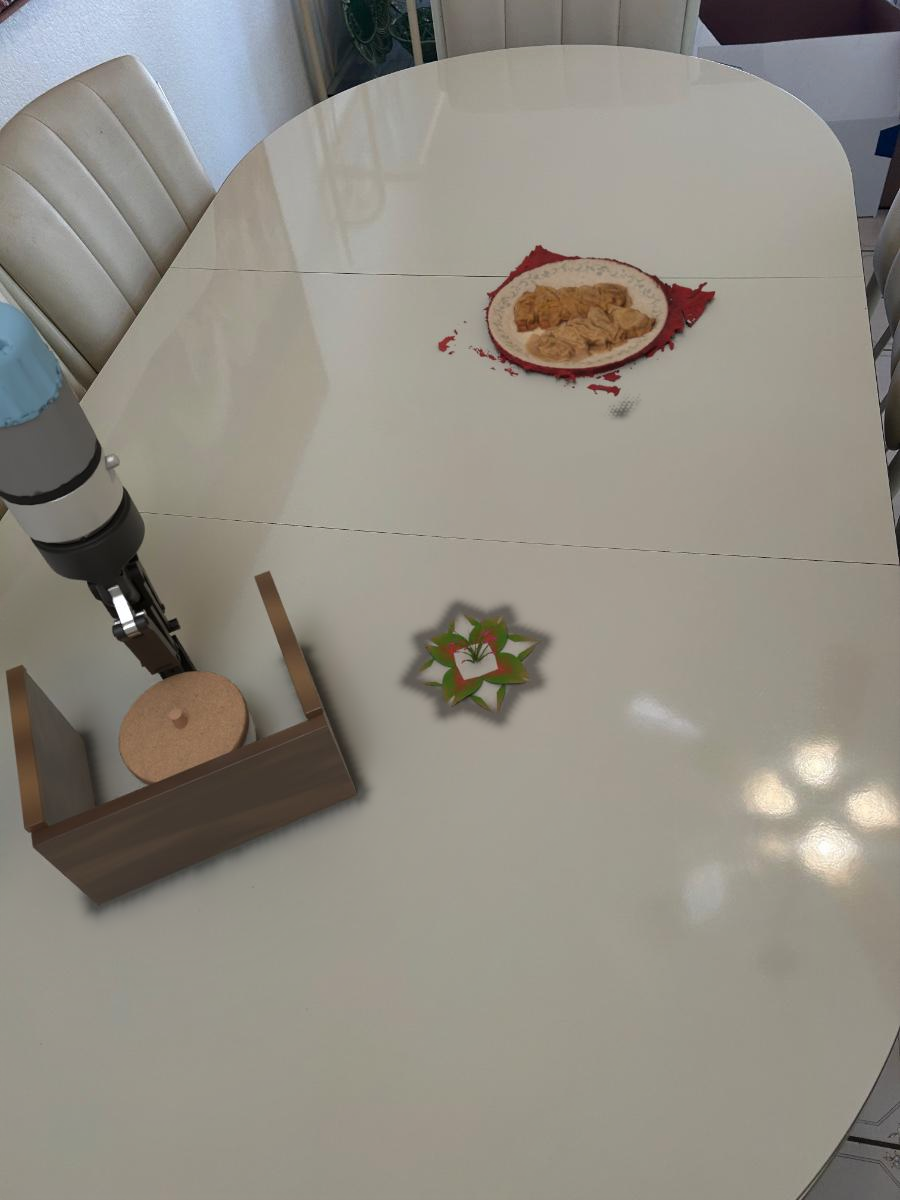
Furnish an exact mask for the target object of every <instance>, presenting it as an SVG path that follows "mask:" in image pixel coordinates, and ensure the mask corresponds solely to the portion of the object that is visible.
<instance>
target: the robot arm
mask: <svg viewBox="0 0 900 1200" xmlns="http://www.w3.org/2000/svg"><path fill="white" fill-rule="evenodd" d="M120 464H121V460H120V458H119V456H118V455H117V454H115V453H114V452H113V453H110V454H107V455H106V453H105V450H104V448H103V447H102V445H101V443H100V441H99V439H98V437H97V435H96V433H95V430H94V428H93V427H92V424H91V423H90V421H89V419H88V417H87V415H86V414H85V412H84V409H83V408H82V406H81V404H80V402H79V400H78V398H77V397H76V395H75V392H74V391H73V388H72V387H71V385H70V383H69V382H68V380H67V378H66V376H65V374H64V372H63V370H62V367H61V363H60V362H59V360H58V358H57V357H56V355H55V353H54V352H53V350H50V348H49V346H48V344H47V343H46V342H45V341H44V340H43V339H42V337H41V335H40V334H39V332H38V330H37V329H36V327H35V325H34V324H33V322H32V321H31V319H30V318H29V317H28V316H27V314H26V313H24V312H23V311H22V310H21V309H19V308H18V307H16V306H14V305H12V304H10V303H8V302H3V301H0V499H1V500H2V502H3V503H4V505H5V506H6V508H7V509H8V510H9V512H10V514H11V515H12V516H13V517H14V519H15V521H16V522H17V523H18V525H19V527H20V528H21V529H22V531H23V532H24V533H25V535H27V537H29V539H30V541H31V543H32V544H33V545H34V546H35V548H36V549H37V551H38V552H39V554H40V555H41V556H42V558H43V559H44V560H45V562H46V564H47V565H48V566H49V567H50V569H51V571H53V572H55V574H57V575H58V576H61V577H62V578H65V579H69V580H74V581H82V582H86V583H87V587H88V589H89V591H90V592H91V594H92V595H93V597H94V598H95V599H96V600H97V601H100V603H102V605H103V606H104V607H105V609H106V611H107V612H108V614H109V615H110V616H111V618H112V619H113V621H112V622H113V625H111V632H112V636H113V637H114V638H115V639H116V640H117V641H118V642H120V643H123V644H124V645H125V646H126V647H127V648H128V649H129V650H130V652H131V653H132V654H133V656H134V657H136V659H137V660H138V661H139V662H140V666H141V667H142V668H145V669H146V670H147V671H148V672H149V673H150V675H151V676H154V675H156V674H159V676H160V678H161V680H164V679H166V678H168V677H171V676H174V675H177V674H181V673H184V672H193V671H198V669H197V668H196V666H195V665H194V663H193V662H192V660H191V658H190V656H189V654H188V653H187V651H186V650H185V647H184V646H183V644H182V643H181V641H180V639H179V638H178V636H177V635H176V634H172V635H171V633H174V632H176V631H179V630H181V625H180V622H179V620H178V617H175V618H172V619H169V620H168V619H167V617H166V616H167V615H165V614H166V605H165V604H164V603H163V602H162V600H161V598H160V597H159V595H158V592H157V591H156V589H155V587H154V585H153V584H152V582H151V580H150V577H149V576H148V574H147V572H146V569H145V567H144V566H143V564H142V562H141V561H140V558H139V554H138V551H139V550H140V548H141V546H142V544H143V543H144V539H145V534H146V525H145V521H144V518H143V517H142V515H141V513H140V511H139V510H138V507H137V506H136V504H135V502H134V500H133V498H132V497H131V495H130V493H129V492H128V489H126V487H125V486H124V485H123V482H122V480H121V479H120V477H119V475H118V473H117V472H116V470H115V468H117V467H118V466H120Z"/></svg>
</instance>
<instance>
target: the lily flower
mask: <svg viewBox="0 0 900 1200" xmlns="http://www.w3.org/2000/svg"><path fill="white" fill-rule="evenodd" d="M463 616H464V617H465V618H464V620H465V623H466V624H468V623H467V621H468V622H469V623H470V625H471V626H473V628H472V629H471V631H469V629H468V628H467V633H468V635H469V636H468V639H467V638H466V637H465V636H463V635H461V634H459V633H458V632H457V631H456V625H455V624H456V623H455V622H456V621H455V620H456V619H455V618H456V617H455V615H454V617H453V619H452V621H450V624H449V626H448V630H447V632H445V633H441V634H438V635H434V636H433V637H431V638H430V639H429V641H430V642H431V643H433V644H434V645H432V644H431V645H430V644H424V646H425V647H426V648H427V651H428V652H429V654H430V655H431V656H432V657H433V658H431V659H429V660H428V661H426V662H425V663H424V664H423V665H422V667H421V668H420V669H419V670H418V672H417V674H419V673H421V672H423V671H425V670H427V669H428V668H431V667H432V665H433V663H434V662H435V660H436V661H437V662H438V663H440V664H442V665H443V666H446V667H448V668H449V667H450V668H449V669H448V670H447V671H445V673H444V675H443V677H442V680H441V681H442V682H441V683H440V682H438V681H426V682H423V684H425V685H428V686H434V687H435V686H436V687H442V688H441V689H442V695H443V701H444V702H445V703H446V704H447V703H448V702H450V701H451V699H452V698H453V699H452V703H451V705H450V708H452V707H453V706H455V705H457V703H458V702H461V701H462V700H464V699H465V698H467V697H468V696H469V697H470V699H471V700H472V701H473V702H475V703H476V704H478V705H479V706H480V707H483V708H484V709H486V710H487V711H491V712H492V713H494V712H493V710H492V709H491V707H489V705H488V704H487V703H486V702H485V700H483V698H482V697H481V696H477V695H474V694H473V693H475V692H476V691H477V690H478V689H479V688H480V687H481V686H482V684H483V682H484V680H485V682H489V683H493V684H500V686H499V688H498V689H497V691H496V716H498V715H499V710H500V708H501V703H502V702H503V700H504V696H505V693H506V685H507V684H523V683H530V682H528V681H527V680H531V676H530V675H529V673H528V672H527V671H526V667H525V666H524V664H523V662H522V661H523V660H524V659H525V658H526V657H527V656H528V655H529V654H530V653H531V652H532V651H533V650H534V648H535V646H536V645H538V644H539V643H540V642H542V640H541V639H535V638H532V637H528V638H527V636H524V635H521V634H508V629H507V623H506V621H505V620H504V618H505V617H504V616H503V617H502V619H501V620H500V618H501V616H499V615H498V616H494V617H492V618H486V619H485V618H484V617H483V618H482V620H481V621H480V622H479V621H478V620H476V619H475V618H473V616H472V617H471V616H469V615H467V614H463ZM499 620H500V621H499ZM507 639H508V640H509V641H511V642H514V643H523V642H524V643H525V642H535V643H534V644H532V645H530V646H529V647H527V648H526V649H524V650H523V651H521V652H519V653H517V656H516V655H514V654H512V653H510V652H505V651H504V652H503V651H501V650H502V649H503V648H504V646H505V644H506V642H507ZM486 644H487V645H486ZM483 645H486V646H485V647H484V649H483V650H482V648H483ZM488 647H489V648H490V652H487V653H485V652H486V650H487V648H488ZM460 650H463V651H460ZM466 650H467V651H468V652H466ZM481 650H482V652H481ZM480 652H481V653H480ZM458 653H463V654H465V655H467V656H469V657H470V658H471V659H463V660H462V661H461V662H460V664H464V663H465V662H470V663H472V664H475V663H476V664H480V665H481V664H482V663H481V661H482V660H484V658H485V657H487V656H488V655H490V654H492V655H493V656H494V658H495V663H496V667H497V669H494V670H491V671H488V672H487V673H484V674H481V675H479V676H474V677H470V678H466V679H464V677H463V674H462V673H461V671H460V669H459V667H458V666H457V663H456V658H455V654H458Z"/></svg>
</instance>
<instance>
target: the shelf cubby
mask: <svg viewBox="0 0 900 1200" xmlns="http://www.w3.org/2000/svg"><path fill="white" fill-rule="evenodd" d="M254 580H255V584H256V587H257V588H258V592H259V594H260V597H261V600H262V602H263V605H264V608H265V610H266V613H267V616H268V619H269V621H270V624H271V627H272V629H273V632H274V635H275V638H276V641H277V643H278V646H279V649H280V651H281V654H282V656H283V660H284V663H285V665H286V667H287V670H288V673H289V676H290V678H291V682H292V684H293V686H294V689H295V693H296V695H297V698H298V700H299V703H300V706H301V708H302V710H303V713H304V716H305V718H306V719H307V720H305V721H302V722H300V723H297V724H294V725H292V726H290V727H288V728H284V729H283V730H280V731H278V732H275V733H273V734H270V735H267V736H266V737H263V738H261V739H260V738H259V739H258V740H256V741H255V742H253V743H251V744H248V745H246V746H243V747H241V748H238V749H236V750H233V751H231V752H229V753H226V754H224V755H221V756H219V757H216V758H214V759H211V760H209V761H207V762H204V763H202V764H199V765H197V766H194V767H192V768H189V769H187V770H185V771H182V772H180V773H177V774H175V775H172V776H170V777H167V778H165V779H163V780H160V781H158V782H155V783H153V784H150V785H148V786H143V787H141V788H138V789H136V790H133V791H131V792H128V793H126V794H124V795H121V796H119V797H117V798H114V799H111V800H108V801H107V802H104V803H102V804H98V805H96V801H95V795H94V789H93V784H92V778H91V773H90V766H89V760H88V756H87V750H86V744H85V739H84V738H83V737H82V736H81V735H80V733H79V732H78V731H77V730H76V729H75V727H74V726H73V725H72V724H71V722H70V721H69V720H68V719H67V718H66V717H65V716H64V714H63V713H62V712H61V711H60V710H59V708H58V707H57V706H56V705H55V704H54V703H53V701H52V700H51V699H50V698H49V696H48V695H47V694H46V693H45V692H44V690H42V689H41V687H40V686H39V685H38V683H37V682H36V681H35V680H34V679H33V677H31V675H30V674H29V673H28V670H27V668H26V667H25V666H24V664H20V665H18V666H15V667H12V668H9V669H7V670H5V678H6V684H7V695H8V703H9V712H10V719H11V720H10V721H11V727H12V736H13V745H14V753H15V761H16V762H15V763H16V769H17V778H18V786H19V788H18V789H19V796H20V803H21V804H20V805H21V813H22V821H23V828H24V830H25V831H26V832H27V833H28V834H30V836H31V837H30V838H31V844H32V845H31V847H32V848H33V849H34V850H35V851H36V852H38V854H40V855H41V856H42V857H43V858H44V859H45V860H47V862H48V863H49V864H51V865H52V866H53V867H54V868H55V869H56V870H57V871H59V872H60V873H61V874H62V875H63V876H64V877H65V878H67V879H68V880H69V881H70V882H71V883H72V884H73V885H74V886H75V887H77V888H78V889H79V890H80V891H81V892H82V893H83V894H84V895H86V896H87V898H89V899H90V900H91V901H92V902H93V903H95V905H97V906H100V905H102V904H105V903H107V902H109V901H111V900H115V899H116V898H118V897H121V896H123V895H125V894H129V893H130V892H133V891H135V890H137V889H139V888H142V887H144V886H146V885H149V884H152V883H154V882H156V881H158V880H162V879H163V878H166V877H168V876H170V875H172V874H174V873H177V872H180V871H182V870H184V869H186V868H189V867H191V866H193V865H196V864H198V863H201V862H203V861H205V860H207V859H211V858H213V857H215V856H217V855H219V854H222V853H224V852H226V851H229V850H232V849H234V848H236V847H238V846H240V845H243V844H245V843H248V842H250V841H252V840H255V839H257V838H259V837H262V836H265V835H267V834H269V833H271V832H274V831H276V830H278V829H281V828H282V827H285V826H287V825H291V824H292V823H294V822H297V821H299V820H301V819H304V818H306V817H308V816H311V815H313V814H315V813H319V812H321V811H323V810H326V809H328V808H330V807H333V806H334V805H336V804H340V803H342V802H344V801H347V800H349V799H351V798H353V797H356V796H357V795H358V793H357V790H356V788H355V784H354V782H353V779H352V777H351V774H350V771H349V770H348V766H347V764H346V761H345V759H344V756H343V754H342V751H341V748H340V746H339V743H338V740H337V738H336V735H335V733H334V731H333V728H332V724H331V722H330V719H329V717H328V715H327V712H326V709H325V707H324V704H323V702H322V699H321V697H320V694H319V691H318V689H317V686H316V684H315V681H314V678H313V676H312V673H311V671H310V668H309V665H308V663H307V661H306V658H305V655H304V653H303V651H302V648H301V646H300V643H299V641H298V638H297V635H296V634H295V632H294V631H295V630H294V628H293V626H292V623H291V621H290V619H289V617H288V614H287V611H286V610H285V606H284V603H283V602H282V601H283V600H282V599H281V596H280V593H279V591H278V588H277V586H276V583H275V580H274V577H273V576H272V572H271V571H270V570H267V571H264V572H262V573H259V574H256V575H254Z"/></svg>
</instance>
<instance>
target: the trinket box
mask: <svg viewBox="0 0 900 1200" xmlns="http://www.w3.org/2000/svg"><path fill="white" fill-rule="evenodd" d="M243 695H244V694H243V693H242V692H241V690H240V689H239V688H238V686H237V685H236V684H235V683H234V682H232V681H231V680H230V679H229V678H227V677H225V676H223V675H220V674H217V673H215V672H210V671H204V670H203V671H202V670H201V671H198V670H197V671H193V672H184V673H181V674H177V675H174V676H171V677H168V678H166V679H164V680H163V679H161V680H160V681H158V682H156V683H155V684H153V685H151V686H150V687H148V688H147V689H146V690H145V691H144V692H143V693H141V694H140V695H139V697H138V698H137V699H136V700H135V701H134V702H133V703H132V705H131V706H130V707H129V709H128V710H127V712H126V714H125V716H124V718H123V719H122V723H121V726H120V728H119V734H118V751H119V755H120V757H121V760H122V762H123V764H124V766H125V767H126V768H127V770H128V771H129V772H130V773H131V775H133V776H134V777H135V778H136V779H137V780H138V781H139V782H140V783H141V784H142V785H143V787H145V786H148V785H150V784H153V783H155V782H158V781H160V780H163V779H165V778H167V777H170V776H172V775H175V774H177V773H180V772H182V771H185V770H187V769H189V768H192V767H194V766H197V765H199V764H202V763H204V762H207V761H209V760H211V759H214V758H216V757H219V756H221V755H224V754H226V753H229V752H231V751H233V750H236V749H238V748H241V747H243V746H246V745H248V744H251V743H253V742H255V741H257V733H256V726H255V723H254V720H253V716H252V714H251V712H250V709H249V706H248V703H247V701H246V699H245V697H244V696H243Z"/></svg>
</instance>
